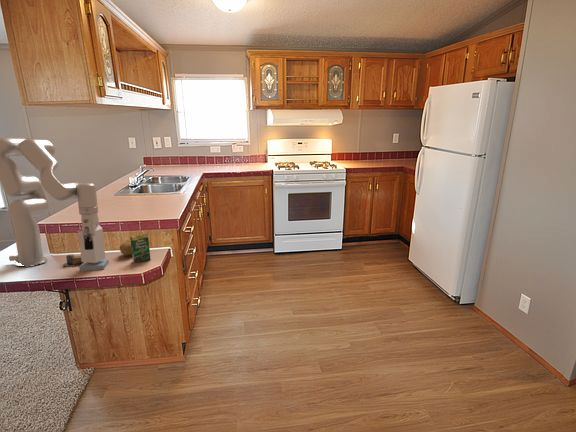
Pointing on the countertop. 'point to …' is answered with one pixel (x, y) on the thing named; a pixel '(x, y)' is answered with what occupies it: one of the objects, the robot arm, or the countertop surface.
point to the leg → (73, 259)
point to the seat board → (94, 265)
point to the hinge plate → (70, 265)
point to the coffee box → (140, 248)
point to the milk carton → (98, 247)
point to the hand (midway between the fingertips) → (92, 246)
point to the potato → (126, 248)
